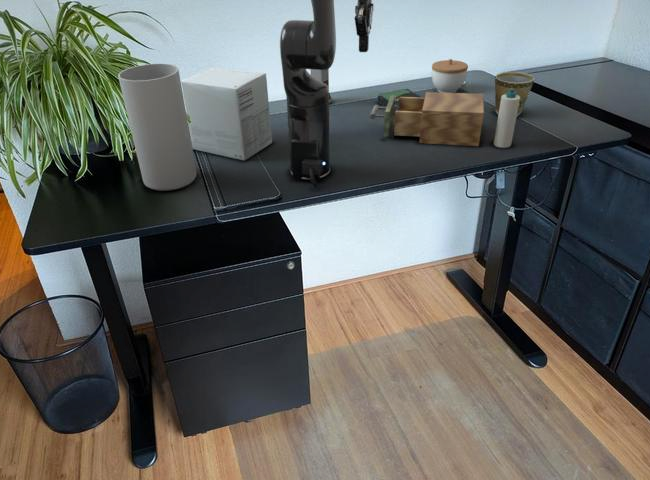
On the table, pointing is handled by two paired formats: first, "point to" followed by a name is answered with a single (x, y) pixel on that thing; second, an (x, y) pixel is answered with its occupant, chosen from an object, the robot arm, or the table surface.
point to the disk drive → (385, 97)
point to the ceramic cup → (512, 87)
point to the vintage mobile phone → (322, 77)
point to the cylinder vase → (159, 125)
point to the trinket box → (448, 75)
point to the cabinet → (452, 118)
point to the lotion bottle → (506, 119)
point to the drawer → (402, 116)
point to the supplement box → (228, 112)
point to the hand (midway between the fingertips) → (363, 51)
